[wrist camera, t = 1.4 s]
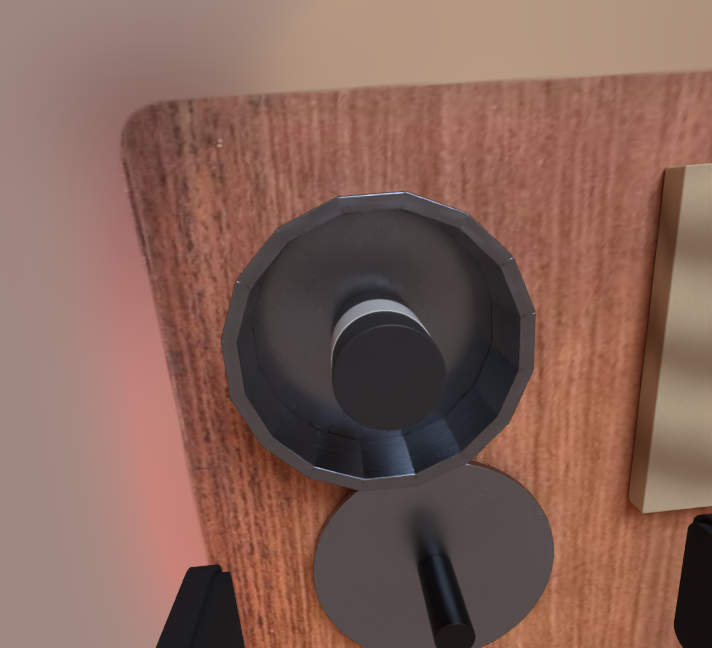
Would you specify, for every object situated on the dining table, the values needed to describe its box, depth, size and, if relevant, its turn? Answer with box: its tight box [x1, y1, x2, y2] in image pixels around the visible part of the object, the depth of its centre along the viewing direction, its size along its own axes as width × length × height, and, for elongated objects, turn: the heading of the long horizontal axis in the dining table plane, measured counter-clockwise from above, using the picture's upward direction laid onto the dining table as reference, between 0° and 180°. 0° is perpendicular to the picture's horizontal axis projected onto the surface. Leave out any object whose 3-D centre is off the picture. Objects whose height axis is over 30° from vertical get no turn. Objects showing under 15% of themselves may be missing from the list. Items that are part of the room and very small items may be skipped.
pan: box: [221, 191, 536, 492], centre depth 24 cm, size 16×16×4 cm
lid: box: [313, 461, 554, 648], centre depth 28 cm, size 17×17×6 cm
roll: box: [331, 292, 446, 431], centre depth 22 cm, size 5×5×7 cm
